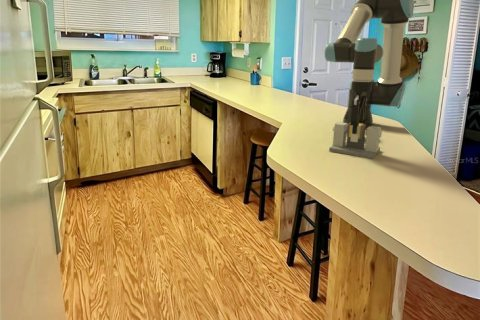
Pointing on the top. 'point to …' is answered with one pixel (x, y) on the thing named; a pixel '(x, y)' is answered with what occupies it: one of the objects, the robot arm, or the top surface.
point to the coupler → (361, 130)
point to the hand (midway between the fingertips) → (355, 140)
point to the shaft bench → (356, 147)
